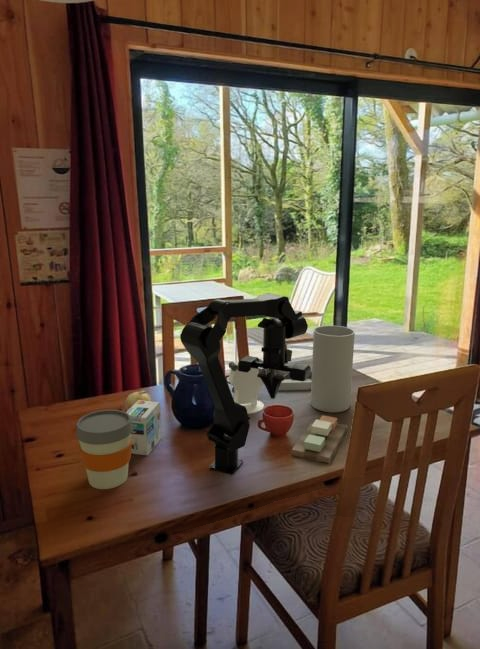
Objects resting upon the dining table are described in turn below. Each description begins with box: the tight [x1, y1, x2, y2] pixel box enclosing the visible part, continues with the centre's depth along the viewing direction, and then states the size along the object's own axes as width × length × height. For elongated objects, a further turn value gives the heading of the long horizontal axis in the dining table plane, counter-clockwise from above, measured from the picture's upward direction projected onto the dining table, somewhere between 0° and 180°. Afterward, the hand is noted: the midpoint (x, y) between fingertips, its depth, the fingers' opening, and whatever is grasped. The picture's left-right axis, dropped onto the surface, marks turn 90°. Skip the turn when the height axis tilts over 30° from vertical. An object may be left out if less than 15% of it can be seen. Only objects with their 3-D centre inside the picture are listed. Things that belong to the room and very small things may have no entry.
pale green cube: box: [304, 434, 326, 452], centre depth 128 cm, size 4×4×4 cm
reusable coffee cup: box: [76, 409, 133, 490], centre depth 115 cm, size 13×13×15 cm
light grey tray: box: [274, 369, 312, 391], centre depth 178 cm, size 17×5×16 cm
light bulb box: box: [125, 400, 162, 456], centre depth 131 cm, size 11×7×11 cm, turn 168°
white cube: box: [311, 419, 332, 438], centre depth 133 cm, size 4×4×4 cm
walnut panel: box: [291, 418, 348, 464], centre depth 134 cm, size 20×10×2 cm, turn 155°
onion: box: [124, 388, 153, 411], centre depth 152 cm, size 8×8×7 cm
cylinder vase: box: [310, 325, 356, 414], centre depth 155 cm, size 12×12×25 cm
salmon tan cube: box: [318, 414, 338, 431], centre depth 139 cm, size 4×4×4 cm
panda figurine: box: [228, 358, 265, 415], centre depth 155 cm, size 12×11×15 cm
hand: (273, 398), depth 131 cm, fingers closed
